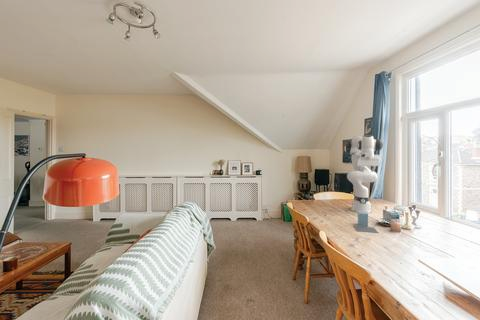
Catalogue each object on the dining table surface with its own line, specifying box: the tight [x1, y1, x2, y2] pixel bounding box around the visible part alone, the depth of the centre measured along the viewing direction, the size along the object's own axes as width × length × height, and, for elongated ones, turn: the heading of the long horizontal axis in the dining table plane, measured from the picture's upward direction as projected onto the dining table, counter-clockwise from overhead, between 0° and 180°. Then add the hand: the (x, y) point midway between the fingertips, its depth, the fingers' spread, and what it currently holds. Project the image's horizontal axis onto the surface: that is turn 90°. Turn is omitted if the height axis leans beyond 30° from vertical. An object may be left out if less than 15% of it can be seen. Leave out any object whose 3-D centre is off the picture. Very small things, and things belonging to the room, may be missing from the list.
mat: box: [353, 225, 379, 234], centre depth 160 cm, size 11×14×1 cm
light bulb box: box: [382, 208, 401, 224], centre depth 171 cm, size 11×7×11 cm, turn 179°
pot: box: [390, 221, 402, 233], centre depth 157 cm, size 6×6×6 cm
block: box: [357, 212, 369, 227], centre depth 168 cm, size 5×6×10 cm
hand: (367, 171), depth 178 cm, fingers open, 8 cm apart
